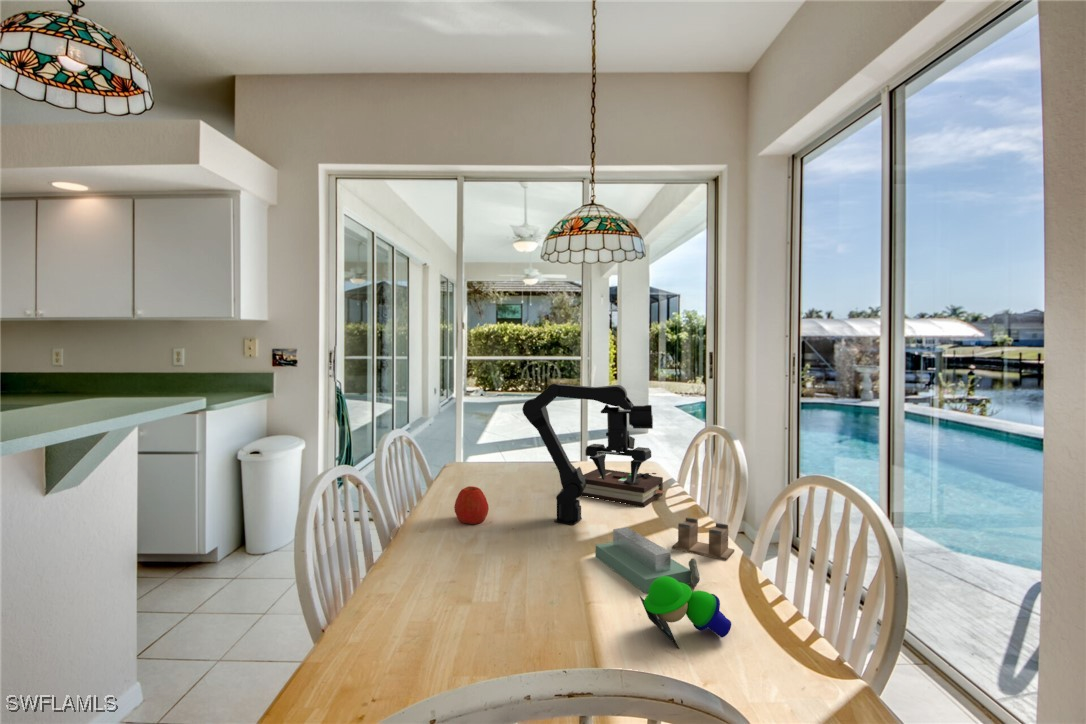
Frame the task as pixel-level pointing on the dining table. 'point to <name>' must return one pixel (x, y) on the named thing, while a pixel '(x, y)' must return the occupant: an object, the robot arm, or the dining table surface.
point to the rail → (642, 549)
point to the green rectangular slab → (638, 567)
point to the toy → (683, 607)
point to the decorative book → (623, 487)
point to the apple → (471, 505)
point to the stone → (694, 572)
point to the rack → (691, 544)
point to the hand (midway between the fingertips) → (618, 481)
